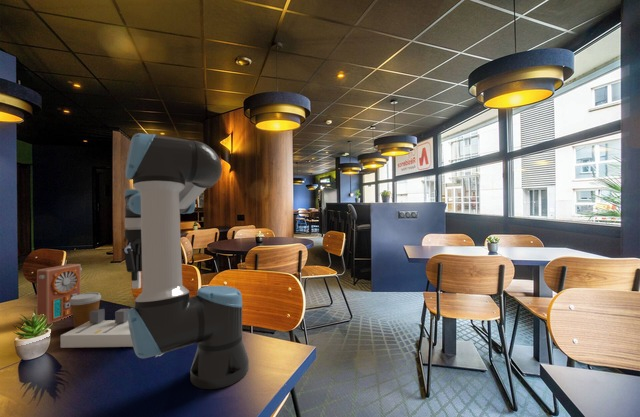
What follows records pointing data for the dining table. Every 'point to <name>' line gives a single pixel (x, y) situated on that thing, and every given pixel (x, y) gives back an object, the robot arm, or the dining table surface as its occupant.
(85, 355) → the dining table surface
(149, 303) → the robot arm
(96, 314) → the tab
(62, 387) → the dining table surface
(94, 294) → the disposable coffee cup
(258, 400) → the dining table surface
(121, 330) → the switch bank
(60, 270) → the control panel
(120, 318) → the tab
